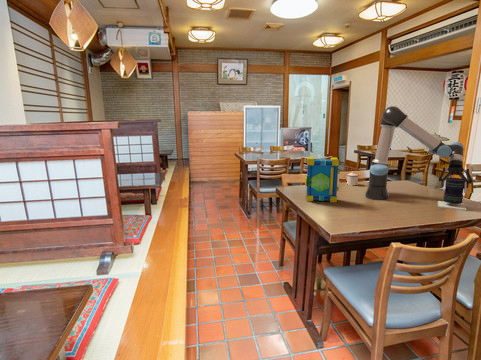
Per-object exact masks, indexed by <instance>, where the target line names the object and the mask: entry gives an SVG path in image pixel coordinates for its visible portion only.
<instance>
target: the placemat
mask: <svg viewBox="0 0 481 360" xmlns="http://www.w3.org/2000/svg"><path fill="white" fill-rule="evenodd" d="M437 206H438V208H440V209H446V210H447V209H448V210H455V211H462V212H463V211H464V212H466V211H467V208H466V204H465V203H463V202H462V203H461V204H452V203H447V202H444V201H443V200H442V201H441V200H438V201H437Z"/></svg>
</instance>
